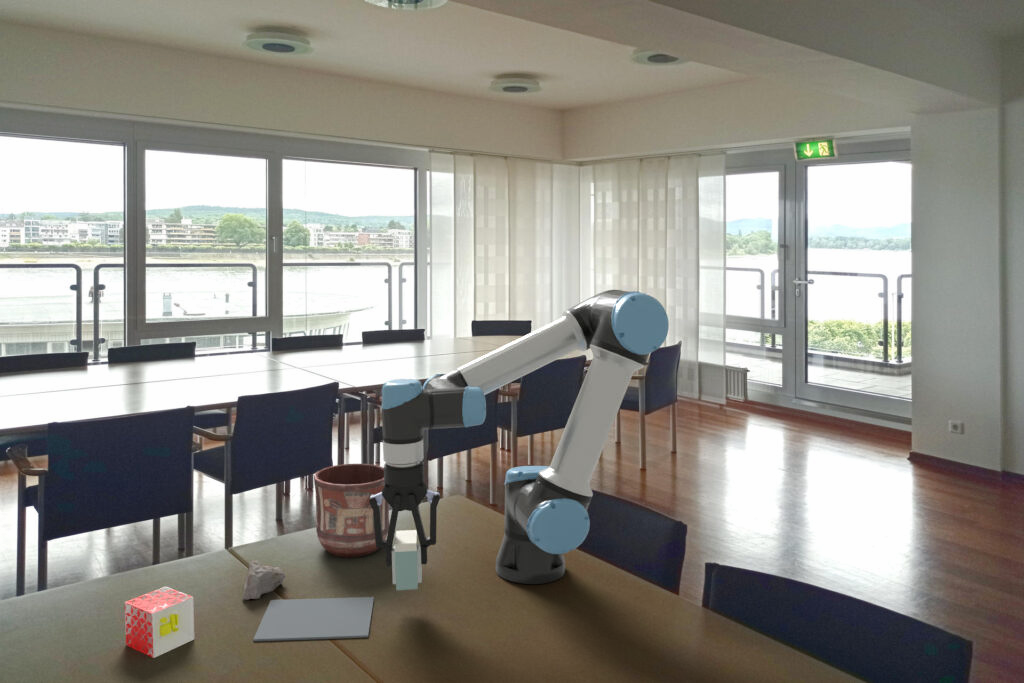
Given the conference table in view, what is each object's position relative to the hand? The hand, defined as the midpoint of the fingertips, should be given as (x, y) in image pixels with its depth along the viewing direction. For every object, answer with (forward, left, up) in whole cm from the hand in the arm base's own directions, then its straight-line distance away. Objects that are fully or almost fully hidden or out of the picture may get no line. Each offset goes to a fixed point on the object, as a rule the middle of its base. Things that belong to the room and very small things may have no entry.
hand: (407, 580), depth 152 cm
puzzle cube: (+43, +9, -7) cm, 44 cm away
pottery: (+13, -33, -6) cm, 37 cm away
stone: (+30, -11, -7) cm, 33 cm away
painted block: (0, 0, 0) cm, 0 cm away
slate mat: (+17, +2, -6) cm, 18 cm away
